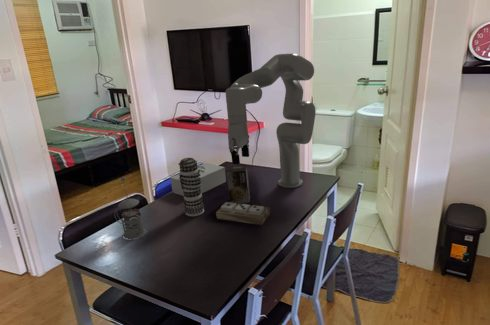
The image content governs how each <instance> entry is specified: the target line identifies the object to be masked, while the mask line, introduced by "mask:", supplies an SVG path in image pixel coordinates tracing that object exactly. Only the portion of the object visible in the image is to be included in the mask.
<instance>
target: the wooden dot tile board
mask: <svg viewBox="0 0 490 325" xmlns="http://www.w3.org/2000/svg"><path fill="white" fill-rule="evenodd" d="M239 204H240V203H236V205H237V206H238V205H239ZM249 205H250V208H251V207H252V206H253V205H251V204H249ZM263 207H264V211H265V212H264V213H263V214H262V215H261V216H258V215H251V214H249V211H248V213H247V214H243V213H236V212H235V209H234V210H233V212H228V211H221V207H220V208H218V210H217V211H216V212H215V215H216V219H218V220H224V221H232V222H238V223H245V224H252V225H260V226H262V225H263V224H264V223H265V221H266V220H267V219H268V218H269V217H270V214H271V213H270V212H271V210H270V207H267V206H263Z"/></svg>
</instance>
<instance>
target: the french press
mask: <svg viewBox="0 0 490 325" xmlns="http://www.w3.org/2000/svg"><path fill="white" fill-rule="evenodd" d="M126 180H127V178H126V177H125V176H122V177H121V178H120V181H121V182H123V184H124V189H125V194H126V199H123V200H122V201H121V202H119V203H118V204H117V208H115V210H114V212H113V213H114V218H115V220H116V222H117V223H119V224H121V225H122V229H123V232H124V233H123V235H122V237H123V236H124V237H125V238H128V239H134V238H138V237H141V236H143V235H144V234H145V233H146V232H147V233H148V230H147V229H145V227H144V222H143V217H142V213H141V212H140V209H139V208H135V207H137V206H138V205H139V203H140V200H138V199H136V198H128V194H127V192H128V191H127V188H126V183H125V181H126ZM118 210H119V211H122V210H124V211H122V212H121V214H120V215H121V218H120V216H119V214H118V213H116V212H117V211H118ZM116 216H117V217H116ZM117 218H118V219H119V220H118V219H117ZM146 230H147V231H146ZM147 233H146V234H147ZM143 237H144V236H143Z"/></svg>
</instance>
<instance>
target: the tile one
mask: <svg viewBox="0 0 490 325" xmlns="http://www.w3.org/2000/svg"><path fill="white" fill-rule="evenodd" d="M236 204H237V203H230V201H225V202H224V203H222V205H221V207H220V208H221V211H228V212H233V210H234V209H235V208H236V207H237V205H236Z"/></svg>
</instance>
